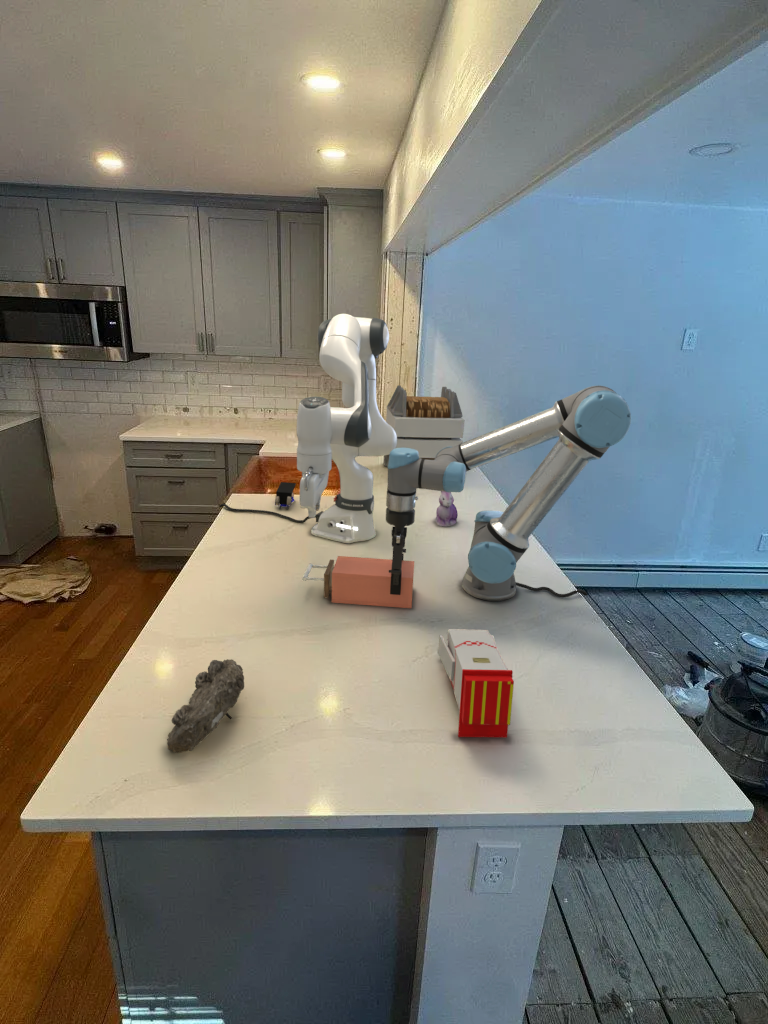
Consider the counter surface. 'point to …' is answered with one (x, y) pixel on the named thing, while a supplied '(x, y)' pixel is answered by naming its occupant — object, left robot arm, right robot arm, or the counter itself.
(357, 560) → the tall pink open box
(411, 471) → the right robot arm
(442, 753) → the counter surface
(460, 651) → the toy
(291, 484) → the figurine character
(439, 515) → the figurine
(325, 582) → the drawer
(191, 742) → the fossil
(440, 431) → the transformer
